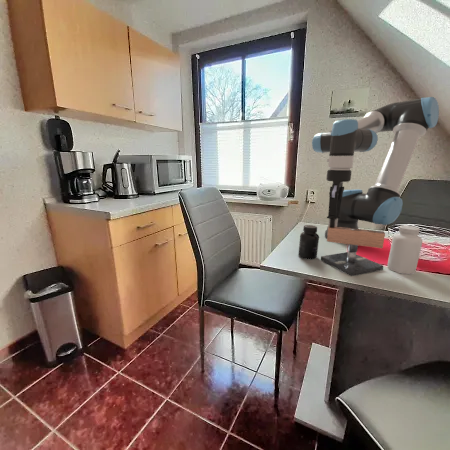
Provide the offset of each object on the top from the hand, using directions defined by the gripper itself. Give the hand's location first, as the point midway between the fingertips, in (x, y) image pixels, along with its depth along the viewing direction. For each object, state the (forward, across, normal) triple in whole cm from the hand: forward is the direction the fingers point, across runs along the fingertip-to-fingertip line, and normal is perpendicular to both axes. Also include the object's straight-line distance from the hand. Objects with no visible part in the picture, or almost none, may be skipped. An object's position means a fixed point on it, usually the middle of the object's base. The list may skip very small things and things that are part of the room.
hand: (331, 235), depth 89 cm
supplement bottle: (+10, +1, -8) cm, 12 cm away
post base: (+9, 0, +7) cm, 12 cm away
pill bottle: (+10, -5, +22) cm, 25 cm away
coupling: (+4, 0, +7) cm, 8 cm away
